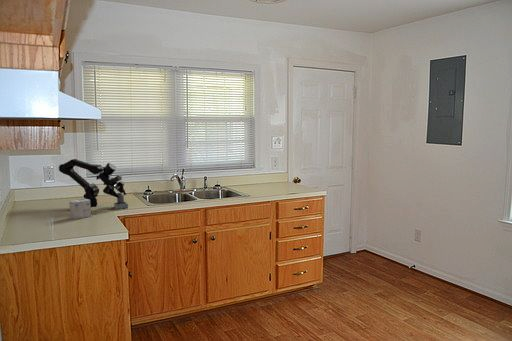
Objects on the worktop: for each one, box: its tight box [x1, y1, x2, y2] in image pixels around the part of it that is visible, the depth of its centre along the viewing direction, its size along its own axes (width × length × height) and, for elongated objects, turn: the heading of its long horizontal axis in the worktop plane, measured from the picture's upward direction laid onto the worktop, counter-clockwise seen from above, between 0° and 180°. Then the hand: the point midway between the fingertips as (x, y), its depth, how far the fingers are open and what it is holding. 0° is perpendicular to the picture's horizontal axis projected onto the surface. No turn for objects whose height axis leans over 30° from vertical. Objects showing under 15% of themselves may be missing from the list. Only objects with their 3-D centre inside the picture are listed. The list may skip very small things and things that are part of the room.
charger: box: [116, 192, 125, 205], centre depth 277 cm, size 4×4×10 cm
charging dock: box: [113, 201, 129, 210], centre depth 278 cm, size 8×8×3 cm
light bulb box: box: [68, 198, 92, 220], centre depth 252 cm, size 11×7×11 cm, turn 141°
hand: (122, 196), depth 277 cm, fingers open, 9 cm apart
